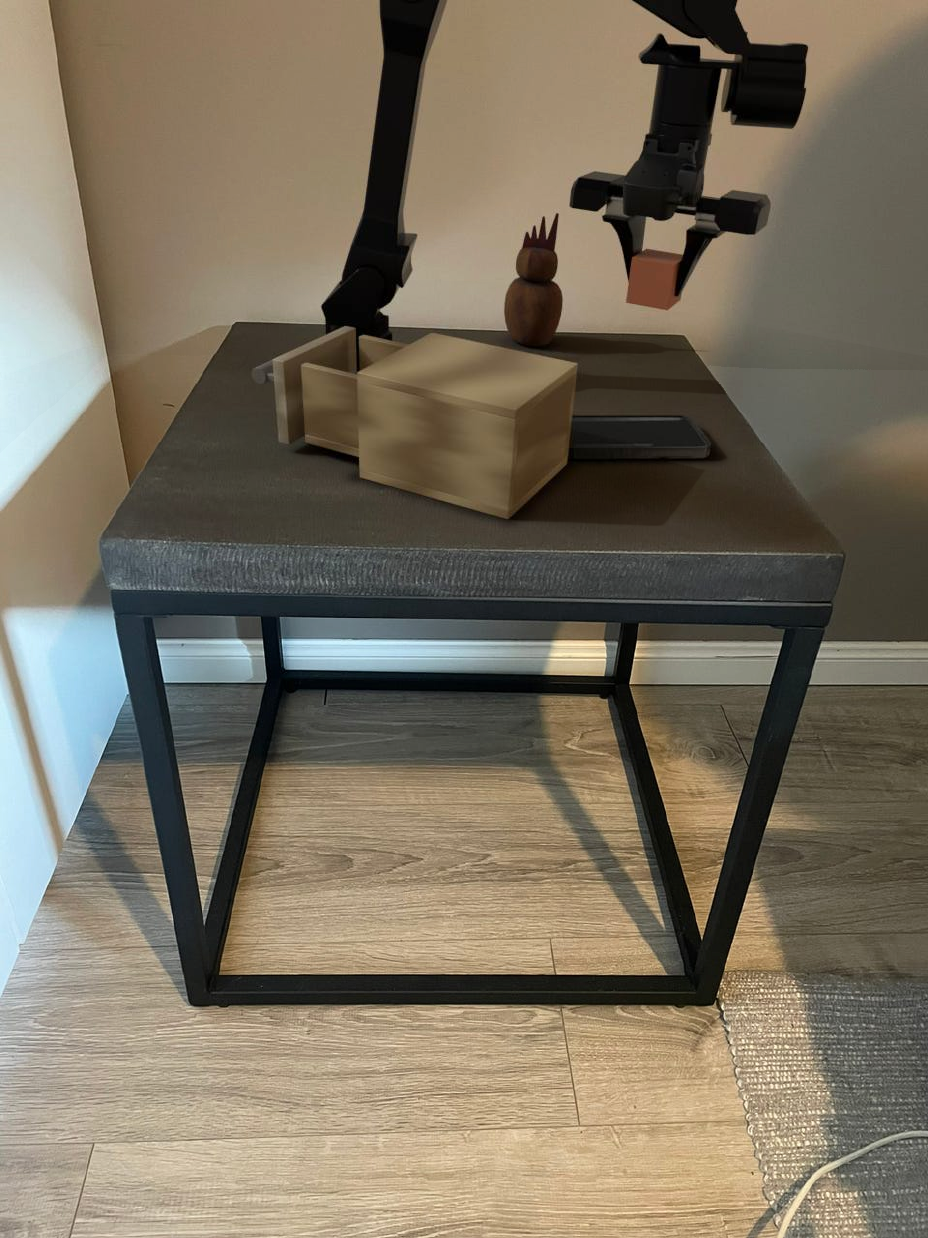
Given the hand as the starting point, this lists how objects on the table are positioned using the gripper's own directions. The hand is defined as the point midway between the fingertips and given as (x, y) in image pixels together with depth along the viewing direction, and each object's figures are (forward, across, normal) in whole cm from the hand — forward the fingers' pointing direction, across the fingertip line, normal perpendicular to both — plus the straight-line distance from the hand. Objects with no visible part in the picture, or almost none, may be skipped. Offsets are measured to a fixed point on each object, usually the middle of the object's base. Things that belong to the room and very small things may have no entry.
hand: (654, 291), depth 98 cm
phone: (+11, +3, -14) cm, 18 cm away
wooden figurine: (+11, -17, +8) cm, 22 cm away
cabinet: (+11, -7, -28) cm, 31 cm away
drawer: (+10, -19, -28) cm, 35 cm away
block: (+1, 0, 0) cm, 1 cm away
